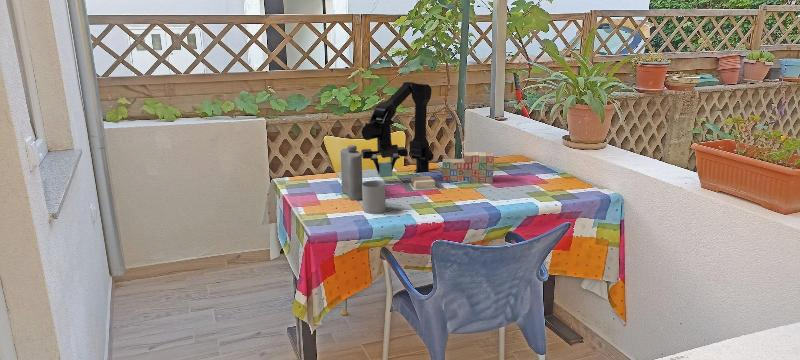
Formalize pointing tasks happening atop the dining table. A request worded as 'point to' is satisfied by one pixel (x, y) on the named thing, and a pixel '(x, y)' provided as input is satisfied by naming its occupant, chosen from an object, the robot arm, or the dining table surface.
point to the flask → (351, 172)
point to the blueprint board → (409, 188)
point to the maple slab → (422, 182)
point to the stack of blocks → (470, 168)
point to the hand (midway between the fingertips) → (384, 172)
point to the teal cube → (385, 169)
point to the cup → (373, 197)
